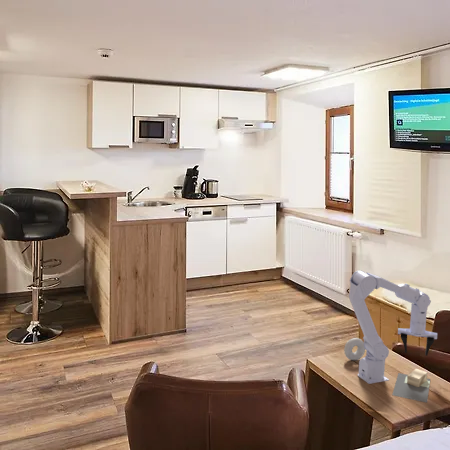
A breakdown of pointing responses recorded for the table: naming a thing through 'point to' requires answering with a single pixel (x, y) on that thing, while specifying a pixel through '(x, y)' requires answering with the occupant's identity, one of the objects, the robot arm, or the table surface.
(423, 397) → the mat
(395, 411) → the table surface
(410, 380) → the beige wooden block
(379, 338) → the robot arm
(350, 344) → the donut
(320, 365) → the table surface
